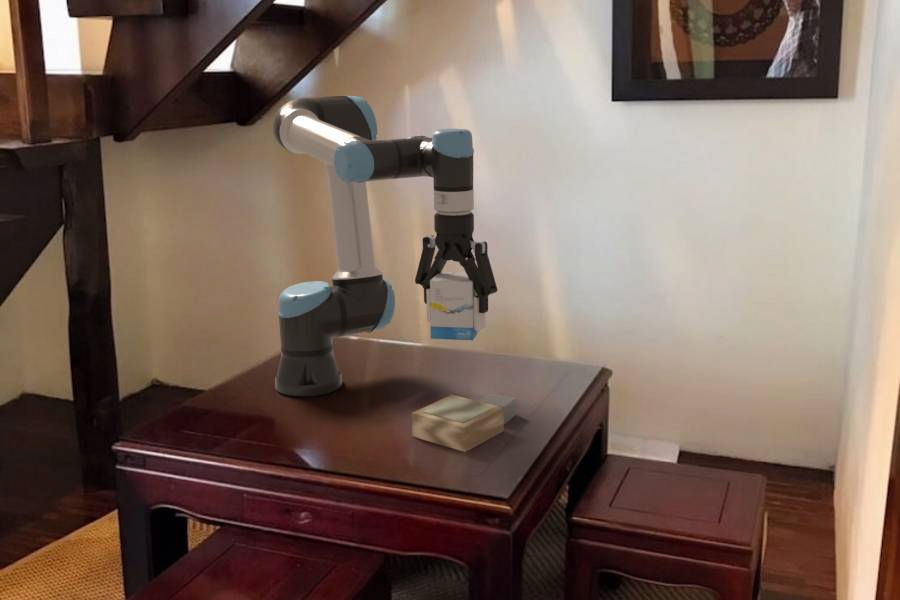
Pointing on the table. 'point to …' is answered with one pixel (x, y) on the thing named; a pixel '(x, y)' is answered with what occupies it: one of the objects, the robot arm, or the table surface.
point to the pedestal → (458, 422)
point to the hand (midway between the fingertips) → (455, 324)
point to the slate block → (502, 404)
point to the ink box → (452, 306)
